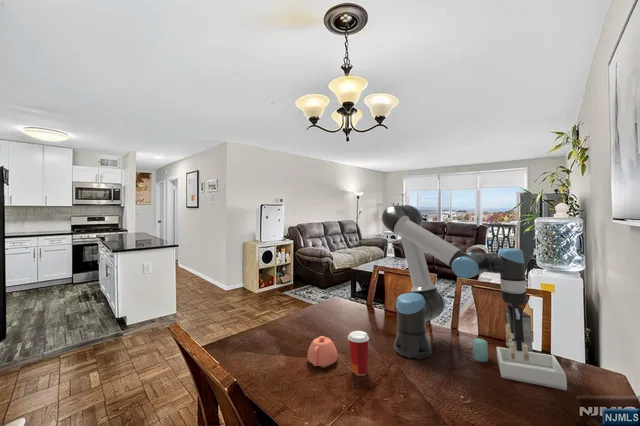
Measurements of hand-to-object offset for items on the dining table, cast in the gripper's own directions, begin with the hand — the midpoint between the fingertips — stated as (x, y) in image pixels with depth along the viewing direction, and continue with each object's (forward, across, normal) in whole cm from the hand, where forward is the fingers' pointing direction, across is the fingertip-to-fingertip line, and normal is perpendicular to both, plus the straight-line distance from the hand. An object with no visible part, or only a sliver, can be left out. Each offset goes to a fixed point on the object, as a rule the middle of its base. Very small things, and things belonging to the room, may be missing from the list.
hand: (518, 355), depth 98 cm
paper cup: (+6, -24, +52) cm, 58 cm away
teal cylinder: (+6, +5, +12) cm, 14 cm away
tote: (+6, 0, -3) cm, 6 cm away
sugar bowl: (+6, -24, +68) cm, 73 cm away
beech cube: (0, 0, 0) cm, 1 cm away
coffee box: (+6, +19, -3) cm, 20 cm away
